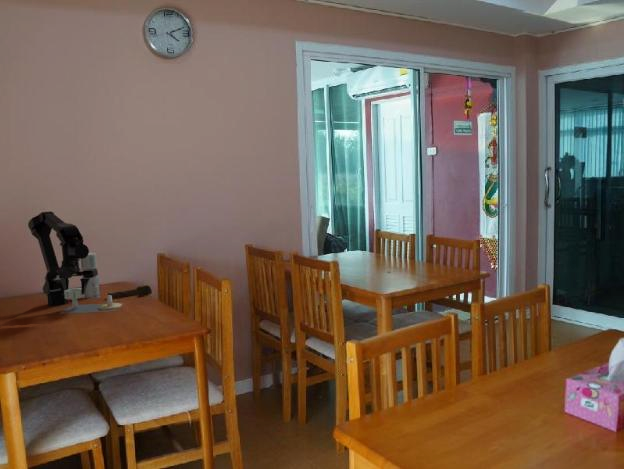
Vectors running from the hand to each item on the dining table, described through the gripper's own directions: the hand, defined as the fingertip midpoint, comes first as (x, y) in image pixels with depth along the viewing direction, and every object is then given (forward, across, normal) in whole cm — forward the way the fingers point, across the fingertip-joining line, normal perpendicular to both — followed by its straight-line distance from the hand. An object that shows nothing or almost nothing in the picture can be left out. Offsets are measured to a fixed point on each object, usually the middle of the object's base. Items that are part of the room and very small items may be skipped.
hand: (74, 295), depth 229 cm
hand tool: (+7, +16, +21) cm, 27 cm away
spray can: (+7, -2, +24) cm, 25 cm away
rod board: (+7, +7, 0) cm, 10 cm away
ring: (+1, 0, 0) cm, 1 cm away
